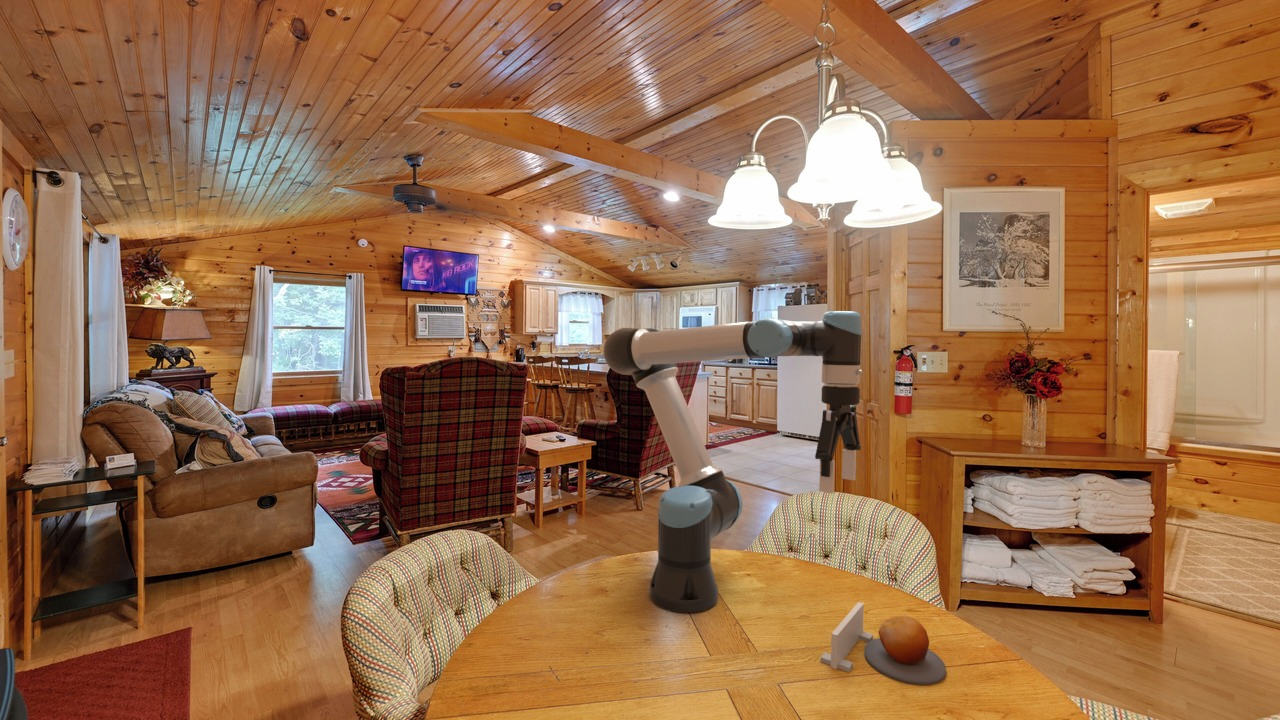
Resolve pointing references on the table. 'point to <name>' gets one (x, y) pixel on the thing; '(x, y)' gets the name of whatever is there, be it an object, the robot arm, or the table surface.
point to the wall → (846, 639)
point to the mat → (905, 666)
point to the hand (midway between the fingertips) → (838, 485)
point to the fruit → (904, 639)
